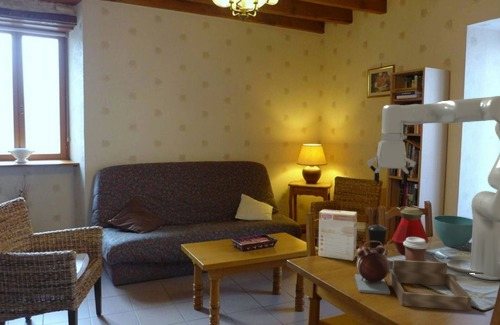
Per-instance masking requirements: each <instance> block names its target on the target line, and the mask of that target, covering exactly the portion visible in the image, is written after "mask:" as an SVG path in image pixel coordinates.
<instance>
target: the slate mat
mask: <svg viewBox="0 0 500 325" xmlns="http://www.w3.org/2000/svg"><path fill="white" fill-rule="evenodd" d="M362 278H363V277H362V276H361V275H360V273H358V274H357V273H355V274H354V280H355V282H356V286H357V290H358V293H361V292H362V293H363V294H365V293H366V294H376V295H377V294H379V295H380V294H381V295H391V290H390V288H389V286H388V284H387V282H386V280H385V278H384V279H383V280H382V282H383V283H381V281H379V282H370V281H366V283H364V282H365V279H363V281H361V279H362ZM362 293H361V294H362Z"/></svg>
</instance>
